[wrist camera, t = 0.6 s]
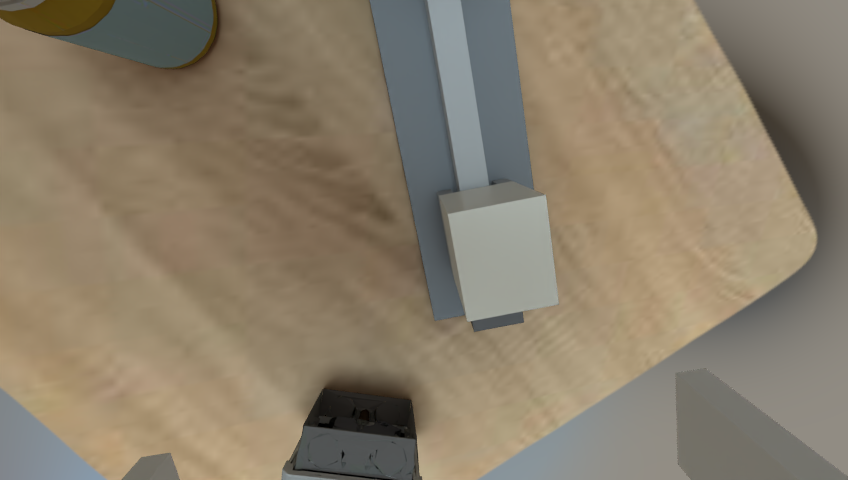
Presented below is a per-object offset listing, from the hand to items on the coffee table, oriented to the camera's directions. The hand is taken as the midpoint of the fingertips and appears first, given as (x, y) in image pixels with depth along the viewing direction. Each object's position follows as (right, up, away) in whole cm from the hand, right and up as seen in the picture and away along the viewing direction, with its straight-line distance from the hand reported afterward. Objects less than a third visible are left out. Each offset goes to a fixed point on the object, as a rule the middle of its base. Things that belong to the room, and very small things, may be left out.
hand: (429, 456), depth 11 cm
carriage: (+4, +7, +19) cm, 21 cm away
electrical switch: (-5, -8, +25) cm, 27 cm away
